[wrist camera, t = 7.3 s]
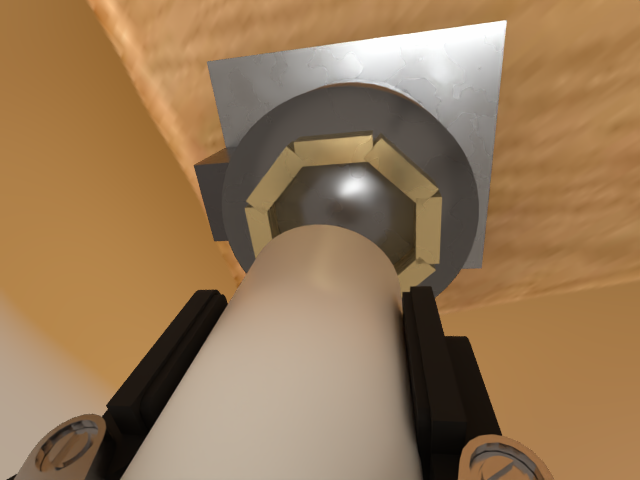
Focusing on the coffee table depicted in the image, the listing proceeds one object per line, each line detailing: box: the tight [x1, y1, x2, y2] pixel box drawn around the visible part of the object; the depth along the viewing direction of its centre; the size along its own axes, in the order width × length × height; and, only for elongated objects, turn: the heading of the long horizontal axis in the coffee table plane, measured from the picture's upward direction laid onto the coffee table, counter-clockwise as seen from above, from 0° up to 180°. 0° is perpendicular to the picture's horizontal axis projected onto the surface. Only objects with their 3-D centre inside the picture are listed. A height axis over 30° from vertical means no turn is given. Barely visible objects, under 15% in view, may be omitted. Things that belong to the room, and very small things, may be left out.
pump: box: [120, 225, 423, 480], centre depth 8 cm, size 5×7×8 cm
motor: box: [194, 20, 507, 299], centre depth 21 cm, size 18×16×12 cm
